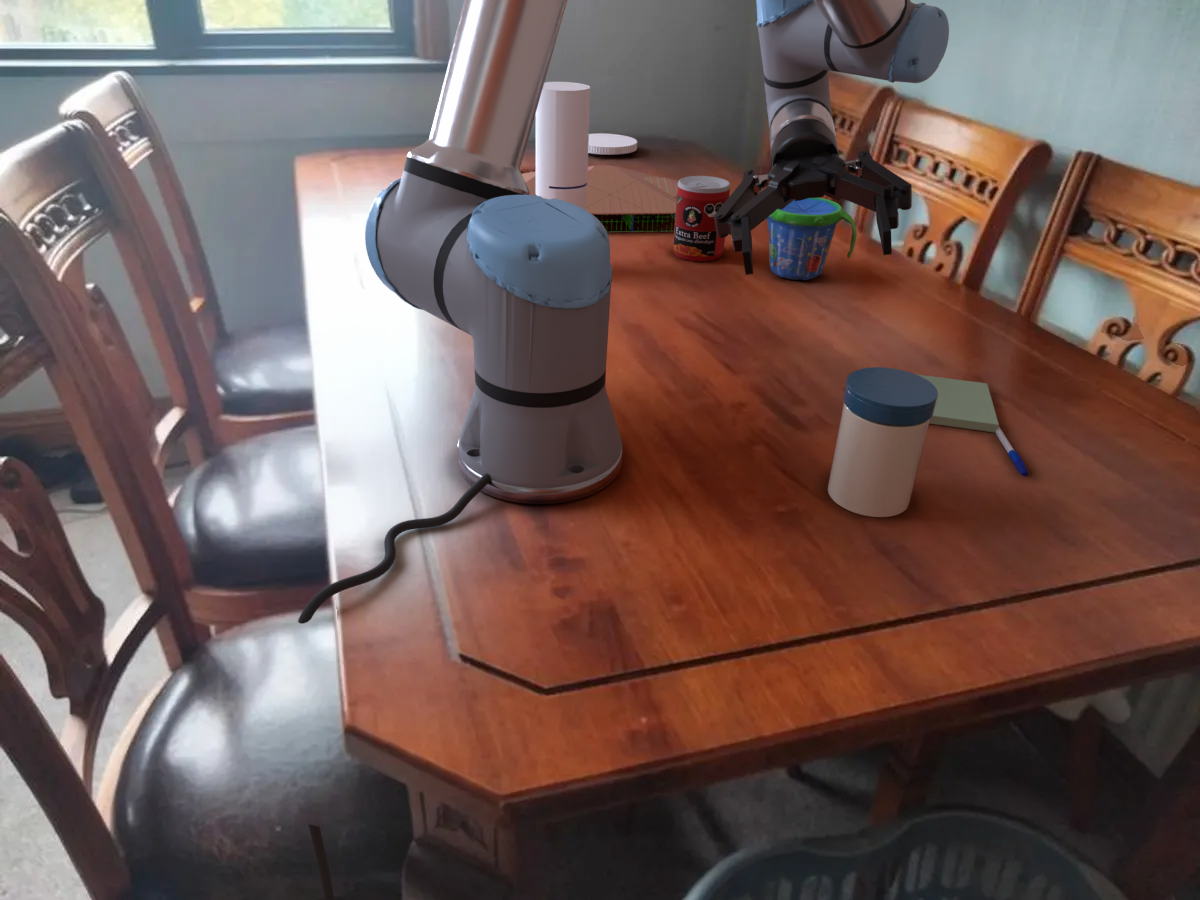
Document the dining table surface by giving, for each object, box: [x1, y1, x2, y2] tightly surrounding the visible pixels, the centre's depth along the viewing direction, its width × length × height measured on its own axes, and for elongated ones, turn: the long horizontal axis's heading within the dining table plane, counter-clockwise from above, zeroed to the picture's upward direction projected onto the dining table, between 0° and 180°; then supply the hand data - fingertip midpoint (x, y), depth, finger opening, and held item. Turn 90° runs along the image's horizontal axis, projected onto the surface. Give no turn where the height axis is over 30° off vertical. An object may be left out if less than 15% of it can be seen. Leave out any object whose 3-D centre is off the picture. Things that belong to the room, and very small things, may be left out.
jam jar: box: [827, 402, 930, 518], centre depth 79 cm, size 7×7×10 cm
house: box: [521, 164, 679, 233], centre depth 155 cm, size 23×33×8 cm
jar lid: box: [842, 366, 938, 426], centre depth 77 cm, size 8×8×2 cm
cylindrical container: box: [535, 81, 591, 211], centre depth 125 cm, size 7×7×25 cm
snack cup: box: [766, 197, 857, 281], centre depth 131 cm, size 16×10×10 cm
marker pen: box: [995, 425, 1029, 477], centre depth 90 cm, size 10×1×1 cm, turn 177°
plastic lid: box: [588, 132, 638, 156], centre depth 198 cm, size 14×14×2 cm
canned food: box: [672, 175, 731, 263], centre depth 137 cm, size 8×8×11 cm
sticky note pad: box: [915, 373, 1000, 434], centre depth 98 cm, size 10×10×1 cm
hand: (816, 253), depth 90 cm, fingers open, 13 cm apart
